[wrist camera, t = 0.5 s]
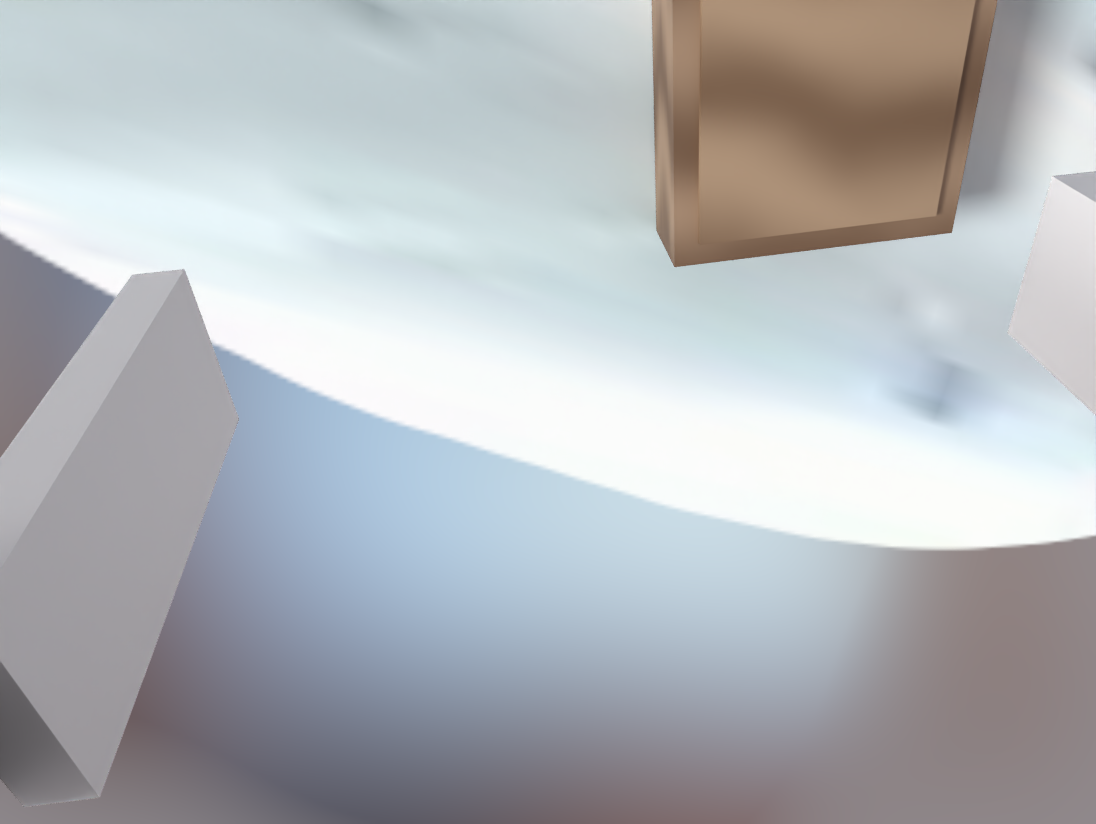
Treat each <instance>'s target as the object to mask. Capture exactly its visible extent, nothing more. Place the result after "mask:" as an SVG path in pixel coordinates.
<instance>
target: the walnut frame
mask: <svg viewBox="0 0 1096 824" xmlns="http://www.w3.org/2000/svg"><path fill="white" fill-rule="evenodd" d="M996 5H997V0H652V33H653V82H654V131H655V180H656V229H657V233H658V235H659V237H660V239H661V241H662V243H663V245H664V247H665V249H666V251H667V253H668V255H669V257H670V259H671V261H672V263H673V265H674V267H679V266H687V265H695V264H703V263H711V262H719V261H728V260H736V259H744V258H752V257H760V256H768V255H776V254H784V253H792V252H800V251H808V250H816V249H824V248H832V247H840V246H848V245H856V244H865V243H873V242H881V241H889V240H897V239H905V238H913V237H921V236H929V235H937V234H945V233H952V229H953V224H954V219H955V214H956V209H957V204H958V199H959V193H960V188H961V183H962V178H963V173H964V168H965V163H966V158H967V153H968V148H969V143H970V137H971V132H972V127H973V122H974V117H975V112H976V107H977V102H978V97H979V92H980V87H981V82H982V76H983V71H984V66H985V61H986V56H987V51H988V46H989V41H990V36H991V31H992V26H993V21H994V15H995V10H996Z"/></svg>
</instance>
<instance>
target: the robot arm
mask: <svg viewBox="0 0 1096 824" xmlns="http://www.w3.org/2000/svg"><path fill="white" fill-rule="evenodd" d="M1007 333H1008V334H1009V335H1010V336H1011V337H1012V338H1013V339H1014V340H1015V341H1017V342H1018V343H1019V344H1020V345H1021V346H1022V347H1023V348H1024V349H1025V350H1026V351H1027V352H1028V353H1029V354H1030V355H1032V356H1033V357H1034V358H1035V359H1036V360H1037V361H1038V362H1039V363H1040V364H1041V365H1042V366H1043V367H1044V368H1045V369H1046V370H1048V371H1049V372H1050V373H1051V374H1052V375H1053V376H1054V377H1055V378H1056V379H1057V380H1058V381H1059V382H1060V383H1061V384H1063V385H1064V386H1065V387H1066V388H1067V389H1068V390H1069V391H1070V392H1071V393H1072V394H1073V395H1074V396H1075V397H1076V398H1078V399H1079V400H1080V401H1081V402H1082V403H1083V404H1084V405H1085V406H1086V407H1087V408H1088V409H1089V410H1090V411H1091V412H1092V413H1094V414H1095V415H1096V171H1095V172H1086V173H1077V174H1067V175H1058V176H1052V178H1051V181H1050V185H1049V188H1048V192H1047V195H1046V199H1045V202H1044V206H1043V209H1042V213H1041V216H1040V220H1039V223H1038V227H1037V230H1036V234H1035V238H1034V241H1033V245H1032V248H1031V252H1030V255H1029V259H1028V262H1027V266H1026V269H1025V273H1024V276H1023V280H1022V283H1021V287H1020V290H1019V294H1018V297H1017V301H1016V304H1015V308H1014V311H1013V315H1012V318H1011V322H1010V325H1009V329H1008V332H1007ZM238 421H239V418H238V415H237V412H236V409H235V407H234V404H233V401H232V398H231V396H230V393H229V390H228V387H227V385H226V382H225V379H224V376H223V374H222V371H221V368H220V365H219V363H218V360H217V357H216V354H215V352H214V349H213V346H212V343H211V341H210V338H209V335H208V333H207V330H206V327H205V324H204V322H203V319H202V316H201V313H200V311H199V308H198V305H197V302H196V300H195V297H194V294H193V291H192V289H191V286H190V283H189V280H188V278H187V275H186V272H185V269H182V270H173V271H163V272H154V273H145V274H135V275H132V276H131V277H130V279H129V280H128V282H127V283H126V284H125V286H124V287H123V288H122V290H121V291H120V293H119V294H118V295H117V297H116V298H115V300H114V301H113V302H112V304H111V305H110V307H109V308H108V309H107V311H106V312H105V313H104V315H103V316H102V318H101V319H100V320H99V322H98V323H97V325H96V326H95V328H94V329H93V330H92V331H91V333H90V334H89V336H88V337H87V338H86V340H85V341H84V343H83V344H82V346H81V347H80V348H79V350H78V351H77V352H76V354H75V355H74V357H73V358H72V359H71V361H70V362H69V363H68V365H67V366H66V368H65V369H64V370H63V372H62V373H61V375H60V376H59V377H58V379H57V380H56V381H55V383H54V384H53V386H52V387H51V388H50V390H49V391H48V393H47V394H46V395H45V397H44V398H43V399H42V401H41V402H40V404H39V405H38V407H37V408H36V409H35V411H34V412H33V414H32V415H31V416H30V418H29V419H28V420H27V422H26V423H25V425H24V426H23V427H22V429H21V430H20V431H19V433H18V434H17V436H16V437H15V438H14V440H13V441H12V443H11V444H10V445H9V447H8V448H7V449H6V451H5V453H4V454H3V455H2V456H1V458H0V779H1V780H2V781H3V782H4V783H5V785H6V786H7V787H8V788H9V790H10V791H11V792H12V793H13V794H14V796H15V797H16V798H17V799H18V800H19V801H20V803H21V804H22V805H23V806H24V807H28V806H36V805H43V804H52V803H59V802H68V801H76V800H85V799H92V798H99V797H100V795H101V792H102V790H103V787H104V784H105V781H106V779H107V776H108V773H109V770H110V768H111V765H112V762H113V760H114V757H115V754H116V751H117V749H118V746H119V743H120V741H121V738H122V735H123V733H124V730H125V727H126V724H127V722H128V719H129V716H130V713H131V710H132V708H133V705H134V703H135V700H136V697H137V694H138V692H139V689H140V686H141V684H142V681H143V678H144V676H145V673H146V670H147V667H148V665H149V662H150V659H151V657H152V654H153V651H154V648H155V646H156V643H157V640H158V638H159V635H160V632H161V629H162V626H163V624H164V621H165V618H166V616H167V613H168V610H169V608H170V605H171V602H172V600H173V597H174V594H175V591H176V589H177V586H178V583H179V581H180V578H181V575H182V572H183V570H184V567H185V564H186V562H187V559H188V556H189V553H190V551H191V548H192V545H193V543H194V540H195V537H196V534H197V532H198V529H199V526H200V523H201V521H202V518H203V515H204V513H205V510H206V507H207V504H208V501H209V499H210V496H211V494H212V491H213V488H214V485H215V483H216V480H217V477H218V475H219V472H220V469H221V467H222V464H223V461H224V458H225V456H226V453H227V450H228V447H229V445H230V442H231V439H232V437H233V434H234V431H235V429H236V426H237V423H238Z"/></svg>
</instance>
